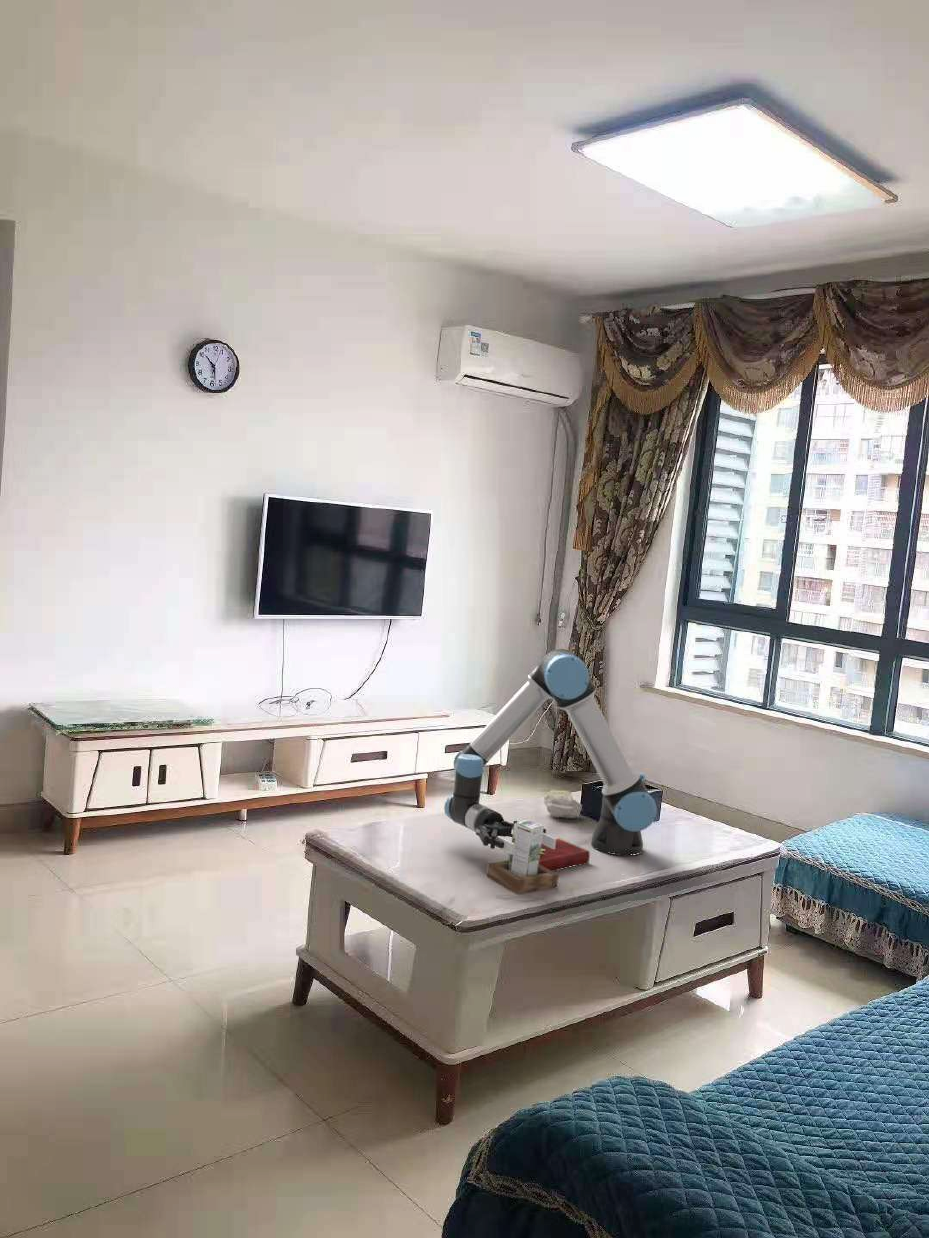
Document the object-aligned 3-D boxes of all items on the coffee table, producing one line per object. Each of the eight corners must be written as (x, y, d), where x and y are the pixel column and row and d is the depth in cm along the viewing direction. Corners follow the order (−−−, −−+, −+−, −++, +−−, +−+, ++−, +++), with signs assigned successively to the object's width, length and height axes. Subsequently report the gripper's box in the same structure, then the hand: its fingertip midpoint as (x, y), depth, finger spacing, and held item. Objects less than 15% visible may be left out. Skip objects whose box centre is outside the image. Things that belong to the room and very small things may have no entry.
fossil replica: (585, 820, 329) (566, 814, 337) (589, 795, 329) (569, 789, 337) (556, 820, 322) (537, 813, 330) (559, 794, 322) (540, 788, 331)
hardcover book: (588, 864, 286) (590, 850, 286) (536, 876, 272) (538, 861, 272) (557, 851, 295) (559, 837, 295) (505, 862, 281) (506, 847, 281)
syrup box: (519, 872, 269) (525, 818, 268) (538, 878, 266) (544, 824, 264) (506, 876, 265) (513, 822, 263) (525, 883, 261) (532, 828, 260)
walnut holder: (525, 870, 274) (527, 857, 274) (557, 887, 264) (558, 874, 263) (486, 876, 267) (488, 863, 266) (517, 893, 256) (519, 880, 256)
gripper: (519, 830, 286) (569, 855, 269) (446, 839, 272) (493, 866, 255) (522, 804, 286) (572, 827, 269) (448, 811, 271) (496, 836, 254)
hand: (534, 846), depth 262 cm, fingers open, 13 cm apart
